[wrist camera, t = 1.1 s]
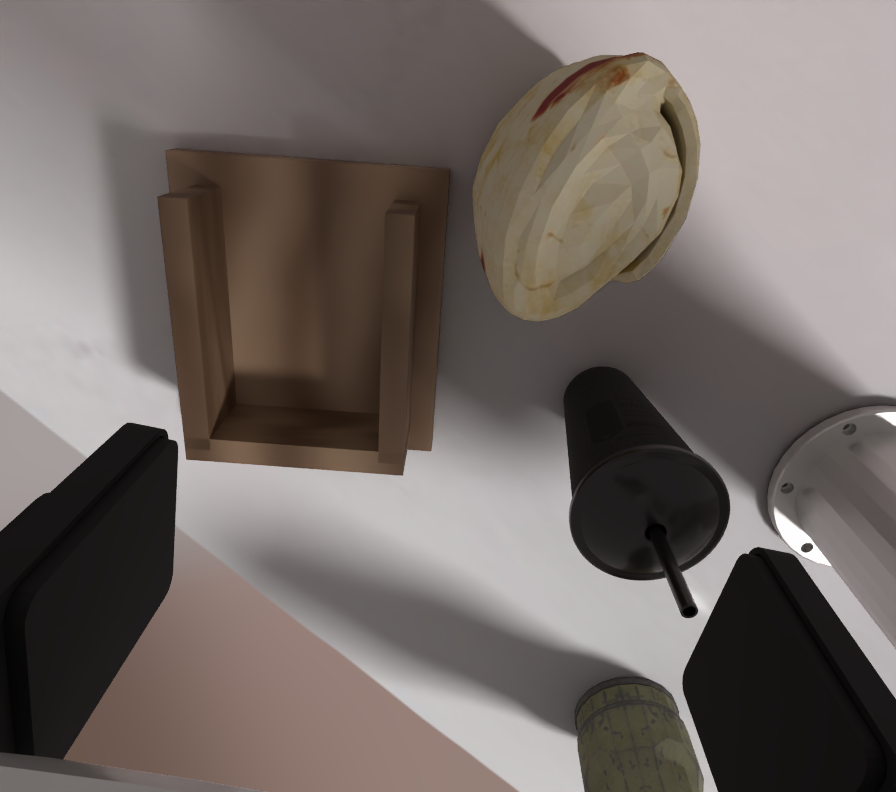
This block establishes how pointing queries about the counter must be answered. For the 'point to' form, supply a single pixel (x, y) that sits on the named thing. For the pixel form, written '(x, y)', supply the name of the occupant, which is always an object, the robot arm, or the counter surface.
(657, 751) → the thermos
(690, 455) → the drinking cup
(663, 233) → the food model
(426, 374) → the dock
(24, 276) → the counter surface
